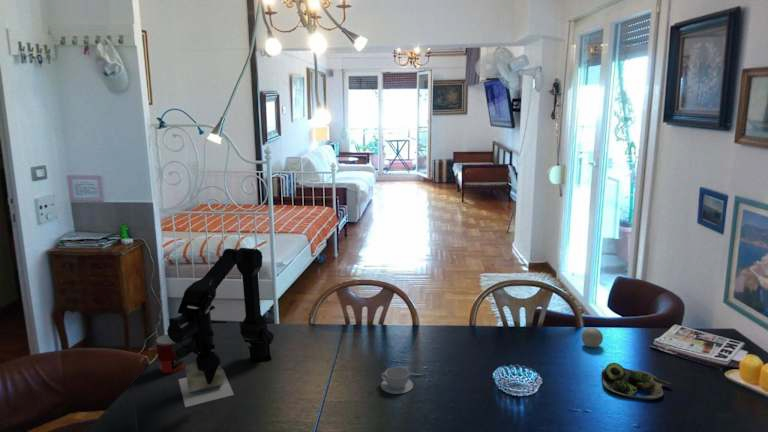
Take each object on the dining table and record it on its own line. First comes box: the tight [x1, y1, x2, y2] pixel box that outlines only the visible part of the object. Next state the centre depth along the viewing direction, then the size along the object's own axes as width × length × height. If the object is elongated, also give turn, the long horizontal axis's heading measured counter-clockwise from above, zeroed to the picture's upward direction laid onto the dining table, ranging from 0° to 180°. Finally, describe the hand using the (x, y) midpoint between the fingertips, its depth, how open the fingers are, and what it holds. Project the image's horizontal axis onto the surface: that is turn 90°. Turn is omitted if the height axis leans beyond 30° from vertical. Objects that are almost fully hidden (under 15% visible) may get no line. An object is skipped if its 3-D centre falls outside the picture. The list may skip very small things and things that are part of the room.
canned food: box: [155, 333, 185, 375], centre depth 182 cm, size 8×8×11 cm
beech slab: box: [184, 362, 224, 392], centre depth 169 cm, size 10×4×8 cm, turn 116°
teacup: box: [380, 366, 414, 395], centre depth 169 cm, size 10×10×5 cm
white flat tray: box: [178, 368, 235, 408], centre depth 171 cm, size 14×18×1 cm
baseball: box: [581, 327, 604, 349], centre depth 191 cm, size 7×7×7 cm
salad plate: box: [600, 362, 672, 400], centre depth 166 cm, size 19×18×5 cm
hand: (206, 376), depth 164 cm, fingers open, 9 cm apart
